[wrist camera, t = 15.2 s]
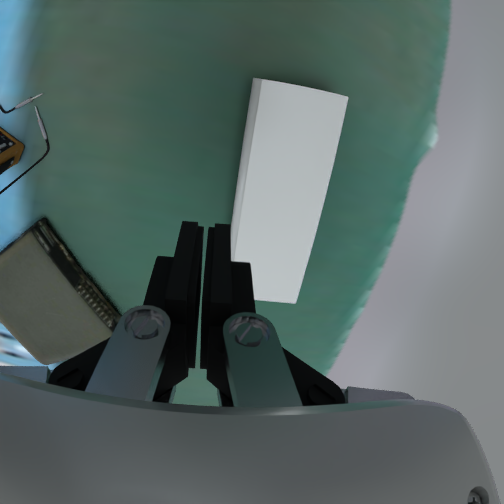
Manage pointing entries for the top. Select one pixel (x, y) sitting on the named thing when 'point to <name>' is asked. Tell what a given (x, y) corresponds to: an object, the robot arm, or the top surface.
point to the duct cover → (283, 182)
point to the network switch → (50, 298)
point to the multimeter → (15, 146)
